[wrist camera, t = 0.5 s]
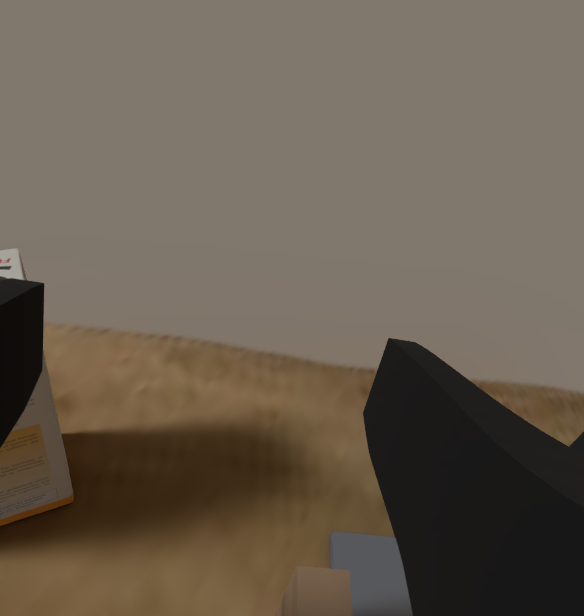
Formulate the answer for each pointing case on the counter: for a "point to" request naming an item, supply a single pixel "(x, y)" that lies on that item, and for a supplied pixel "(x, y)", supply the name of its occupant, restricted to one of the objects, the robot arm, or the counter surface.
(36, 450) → the supplement box
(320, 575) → the slab
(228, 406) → the counter surface
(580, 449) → the medicine bottle
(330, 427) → the counter surface
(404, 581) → the mat
